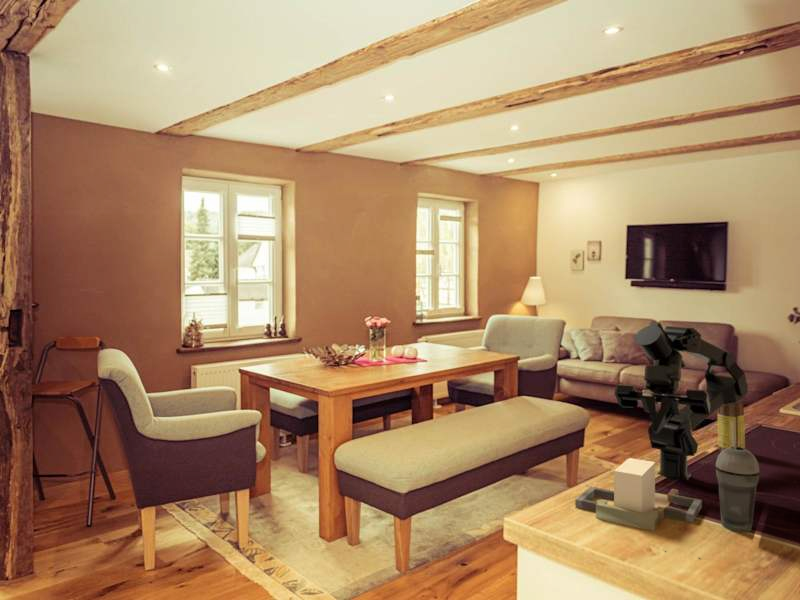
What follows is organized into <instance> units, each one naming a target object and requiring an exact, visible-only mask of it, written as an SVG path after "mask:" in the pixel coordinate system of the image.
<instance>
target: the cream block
mask: <svg viewBox="0 0 800 600" xmlns="http://www.w3.org/2000/svg"><path fill="white" fill-rule="evenodd" d="M613 472H614V473H613V478H614V479H613V482H614V483H613V491H614V500H613V504H614V506H616V507H620V508H625V509H630V510H634V511H639V512H644V513H649V512H650V511H651V510H653V509H654V508H655V493H656V462H655V461H651V460H650V461H649V460H644V459H638V458H631V457H628V458H627V459H626V460H625V461H624V462H623V463H622V464H620V465H619V466H618V467H617V468H616V469H614V471H613Z"/></svg>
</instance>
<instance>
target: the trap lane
mask: <svg viewBox="0 0 800 600" xmlns="http://www.w3.org/2000/svg"><path fill="white" fill-rule="evenodd" d="M594 498H599V499H600V500H599V501H595V500H593V499H594ZM608 501H614V490H609V489H605V488H599V487H595V486H590V487H589V488H588V489H586V490H585V491H584V492H583V493H581V494H580V495H579V496H578V497H577V498H575V501H574V502H575V504H574V505H575V508H578V509H581V510H587V511H591V512H594V513H595V518H596V519H599V520H604V521H606V522H607V521H608V522H611V523H616V524H622V525H626V526H630V527H635V528H639V529H643V530H647V531H652V532H654V531H655V530H656V529H657V527H658V525H660V523H661V522H662V520H663V519H664V518H668V519H673V520H677V521H681V522H687V523H692V524H693V523H694V521H695V520H696V518H697V516H698V515H699V513H700V511H701V509H702V508H703V500H702V499H699V498H694V497H690V496H684V495H679V489H676V488H671V489H670V491H669V492H668V493H667V494H664V493H660V492H655V508H654V509H653V510H651V511H650V512H649V513H644V512H639V511H634V510H630V509H625V508H620V507H616V506H614V503H613V504H612V505H611V504H608ZM670 504H673V505H677V506H682V507H687V508H688V509H687V510H683V509H678V508H673V507H669V506H670Z"/></svg>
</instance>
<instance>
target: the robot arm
mask: <svg viewBox="0 0 800 600" xmlns="http://www.w3.org/2000/svg"><path fill="white" fill-rule="evenodd" d="M635 342H636V343H637V345H638V346H639V347H640V348H641V350H642V351H643V353H644V354H645V355H646V356H647V358H648V359H649V360H653V364H648V365H647V364H646V365H645V367H644V376H643V380H644V381H646V382H645V389H642V391H637V388H636V385H635V384H634V385H633V384H622V383H619V384H617V385H616V386H615V388H614V397H615V398H616V401H617V404H618V405H619V407H621V408H629V409H635V408H637V407H638V406H639V402H641V404H642V408H643V411H644V412H645V413H649V416H650V424H649V426H648V429H647V432H648V439H649V441H650V446H651V449H656V450H660V453H659V461H660V462H659V463H660V464H659V471H658V472H656V475H658V476H659V475H660V476H663V477H664V478H671V479H681V480H690V478H691V477H692V473H689V472H688V456H689V457H695V455H696V454H697V452H698V447H699V444H698V443H697V441H696V440H695V438H694V436H693V430H694V429H695V428H696V427H697V426H699V425H700V424H701V423H702V422H703V421H705V420H706V419H708V417H710V416H711V415H712V414H713V413H715V412H716V411H718V408H719V407H721V406H722V405H725V404H732V403H736V402H738V401H740V400H741V401H742V400H744V398H745V396H747V394H748V392H749V388H748V387H749V386H748V382H747V377H746V374H745V371H744V370H743V369H742V367H740V366H739V365H738V364H737V363H736V362H735V361H736V360H735V358H734V353H732V352H731V351H729V350H725V349H723V348H720V347H718V346H717V345H715V344H712V343H711V342H708V341H706V340H705V339H703V338H702V334H701V333H700V332H699V331H698V330H697V329H695V327H687V326H673V325H668V326H665V328H664V327H663V325H662V324H661V322H659V321H658V322H657V321H652V322H651V323H650V324H649V325H647V326H644V327H643V328H641V329H640V330H639V331H637V332H636V334H635ZM681 353H686V354H689V355H690V356H693V357H695V358H697V359H700V360H701V361H704V362H706V363H707V369H706V371H705V373H704V379H705V386H706V389H693V388H690V389H689V388H687V389H686V392H685V394H679V393H678V388H679V385H680V383H679V382H681V380H682V379H681V378H682V377H681V376H682V368H685V367H686V364H685V361H684V360H683V356H682V354H681ZM715 367H723V368H724V367H725V370H726V371H727V372H728V373H729V374H730V375H726V374H717V373H715V371H714V370H715ZM658 404H660V408H659V407H658ZM682 405H685V406H684V407H682ZM680 407H682V408H681V409H680Z"/></svg>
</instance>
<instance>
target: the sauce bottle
mask: <svg viewBox="0 0 800 600" xmlns="http://www.w3.org/2000/svg"><path fill="white" fill-rule="evenodd" d="M744 411H745V409H744V403H743V401H742V400H740V401H738V402H736V403H732V404H725V405H722V406H721V407H719V408H718V409H717V441H718V442H717V445H718V448H719V449H718V450H719V452H720V453H721V452H722V451H723V450H725V449H726V448H729V447H733V440H732V426H731V422H734V424H735V437H736V447H741V448H744V449H746V436H745V435H746V434H745V433H746V430H745V413H744Z"/></svg>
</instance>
